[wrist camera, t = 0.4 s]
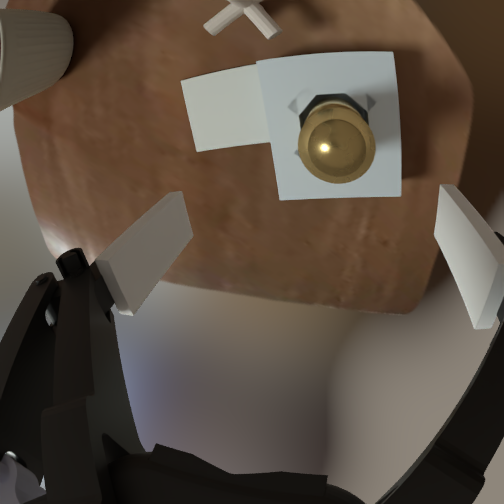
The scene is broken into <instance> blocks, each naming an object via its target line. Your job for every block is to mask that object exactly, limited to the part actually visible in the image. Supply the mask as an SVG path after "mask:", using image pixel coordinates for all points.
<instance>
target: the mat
mask: <svg viewBox="0 0 504 504" xmlns="http://www.w3.org/2000/svg"><path fill="white" fill-rule="evenodd" d="M181 85H182V89H183V94H184V98H185V103H186V107H187V111H188V116H189V120H190V125H191V129H192V133H193V137H194V142H195V146H196V150H197V152H199V151H205V150H212V149H218V148H225V147H232V146H240V145H248V144H256V143H265V142H270V136H269V130H268V124H267V118H266V112H265V107H264V101H263V96H262V90H261V85H260V79H259V74H258V69H257V64H254V65H248V66H243V67H238V68H233V69H228V70H223V71H218V72H214V73H210V74H206V75H201V76H197V77H194V78H190V79H186V80H182V81H181Z"/></svg>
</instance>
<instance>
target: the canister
mask: <svg viewBox="0 0 504 504" xmlns="http://www.w3.org/2000/svg"><path fill="white" fill-rule="evenodd" d="M73 39H74V38H73V32H72V28H71V27H70V24H69V23H68V22H67V20H66V19H64V18H63V17H62V16H59V15H57V14H54V13H48V12H41V11H33V10H20V9H0V111H2V110H4V109H6V108H7V107H9V106H11V105H14V104H16V103H18V102H20V101H22V100H24V99H26V98H28V97H30V96H33V95H35V94H37V93H39V92H41V91H43V90H45V89H47V88H49V87H50V86H52V85H53V84H55V83H56V82H57V81H58V80H59V79H60V77H62V76H63V74H64V72H65V71H66V69H67V67H68V66H69V62H70V60H71V56H72V51H73V44H74V43H73Z"/></svg>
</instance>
